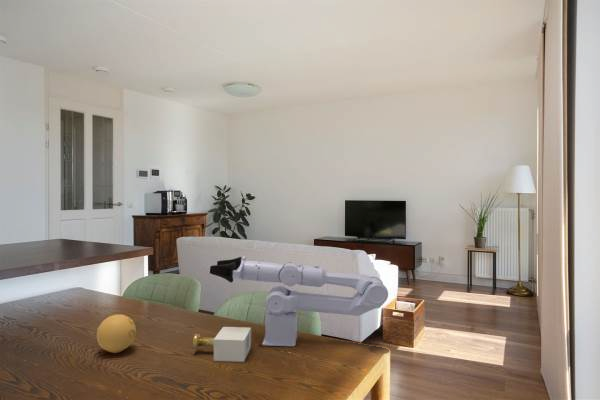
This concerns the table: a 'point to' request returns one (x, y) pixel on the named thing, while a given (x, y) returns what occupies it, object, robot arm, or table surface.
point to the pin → (201, 341)
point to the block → (232, 344)
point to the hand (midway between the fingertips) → (213, 266)
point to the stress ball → (116, 333)
